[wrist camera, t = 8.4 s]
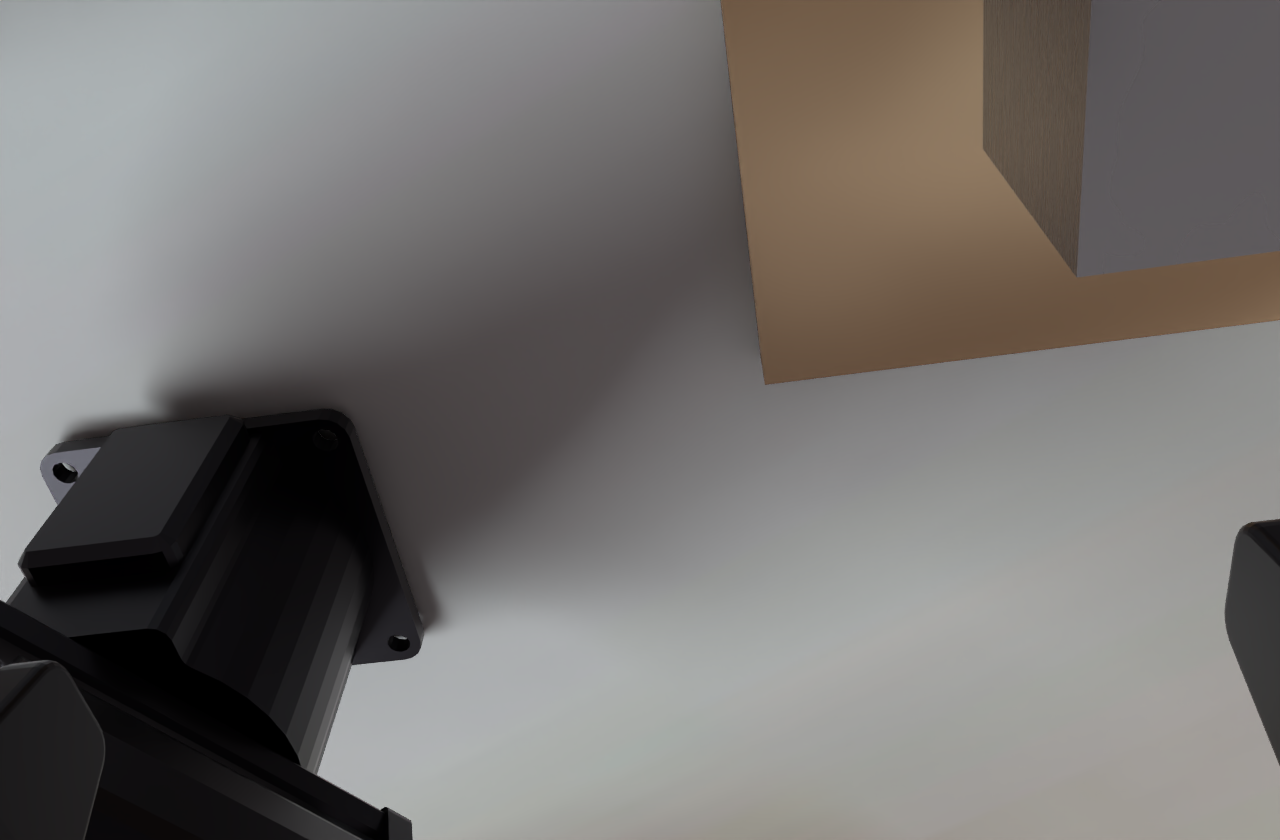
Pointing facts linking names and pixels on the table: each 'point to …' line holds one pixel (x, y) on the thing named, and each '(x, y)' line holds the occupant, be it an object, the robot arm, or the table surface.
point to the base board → (916, 205)
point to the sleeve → (1138, 126)
